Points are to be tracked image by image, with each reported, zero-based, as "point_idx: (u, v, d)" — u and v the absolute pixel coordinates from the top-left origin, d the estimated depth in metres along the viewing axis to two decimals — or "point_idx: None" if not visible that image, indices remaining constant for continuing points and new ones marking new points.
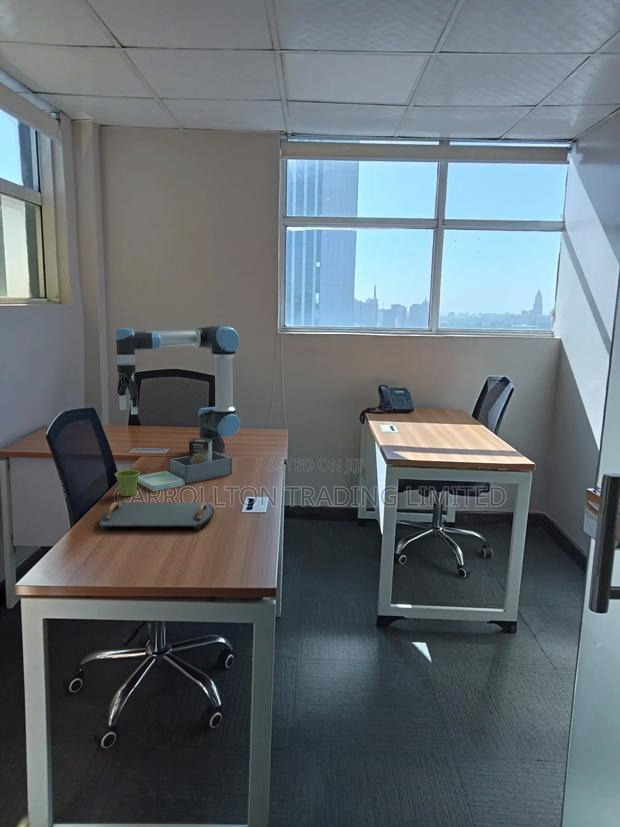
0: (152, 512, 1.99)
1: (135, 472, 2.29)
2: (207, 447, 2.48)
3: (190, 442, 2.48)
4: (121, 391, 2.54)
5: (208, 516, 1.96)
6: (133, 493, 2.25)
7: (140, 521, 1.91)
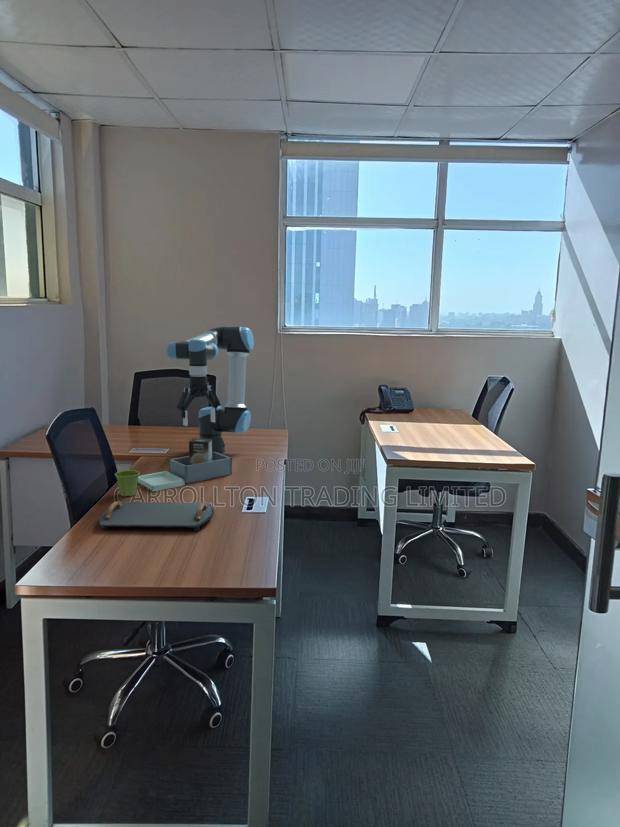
0: (152, 512, 1.99)
1: (135, 472, 2.29)
2: (207, 447, 2.48)
3: (190, 442, 2.48)
4: None
5: (207, 517, 1.96)
6: (133, 493, 2.25)
7: (139, 521, 1.91)
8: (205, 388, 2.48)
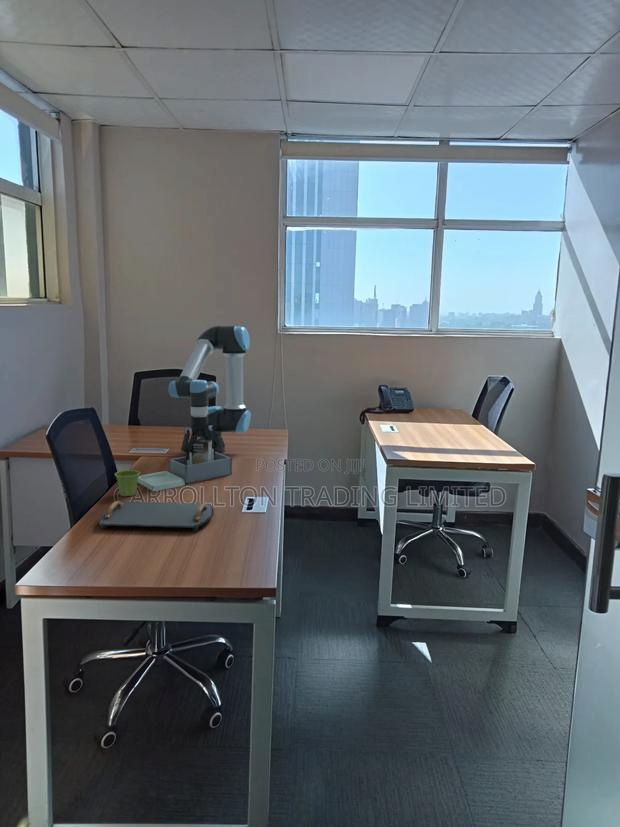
0: (152, 512, 1.99)
1: (135, 472, 2.29)
2: (207, 447, 2.48)
3: None
4: None
5: (207, 517, 1.95)
6: (133, 493, 2.25)
7: (139, 521, 1.91)
8: (206, 427, 2.51)
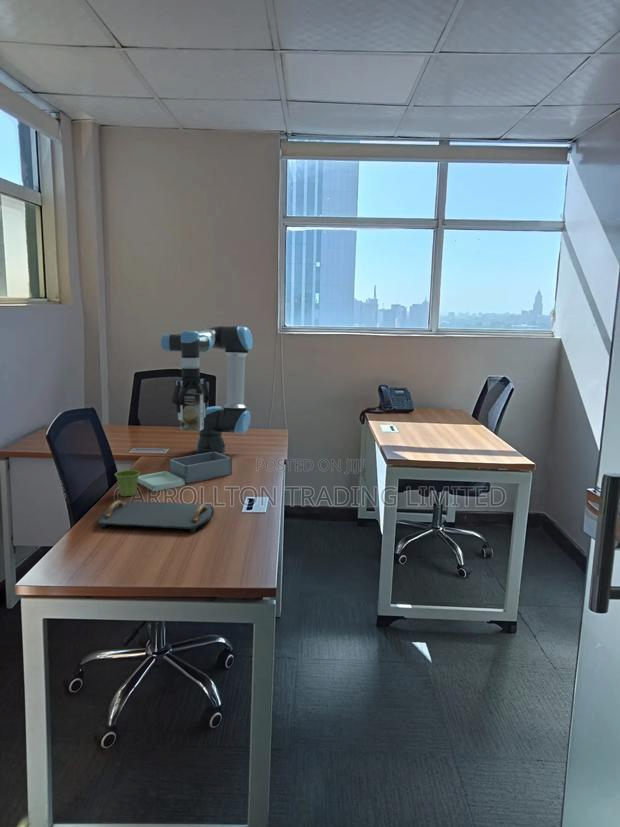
0: (153, 512, 1.99)
1: (135, 472, 2.29)
2: (198, 400, 2.41)
3: None
4: None
5: (205, 518, 1.94)
6: (133, 493, 2.24)
7: (137, 520, 1.91)
8: (197, 380, 2.44)
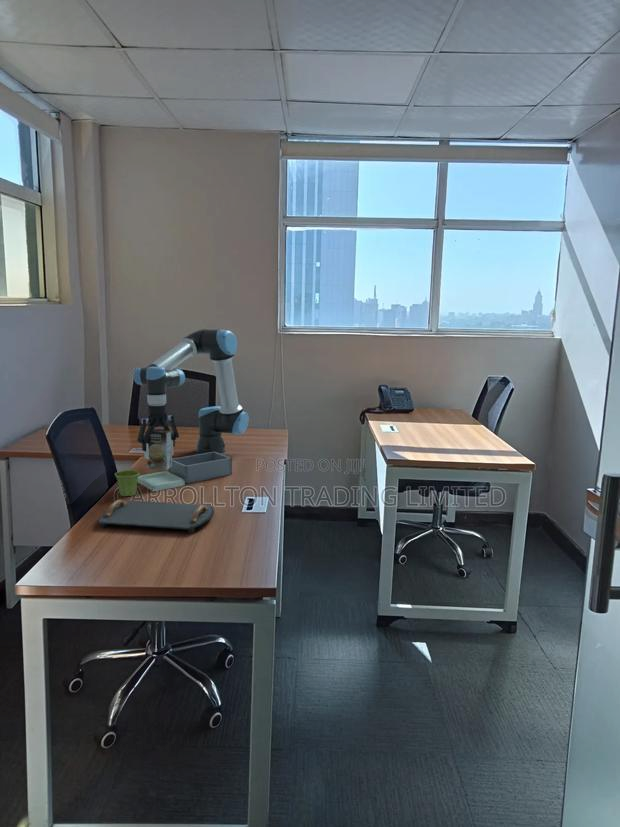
0: (153, 512, 2.00)
1: (135, 472, 2.29)
2: (165, 438, 2.33)
3: None
4: None
5: (204, 519, 1.93)
6: (133, 493, 2.24)
7: (137, 520, 1.92)
8: (165, 417, 2.36)
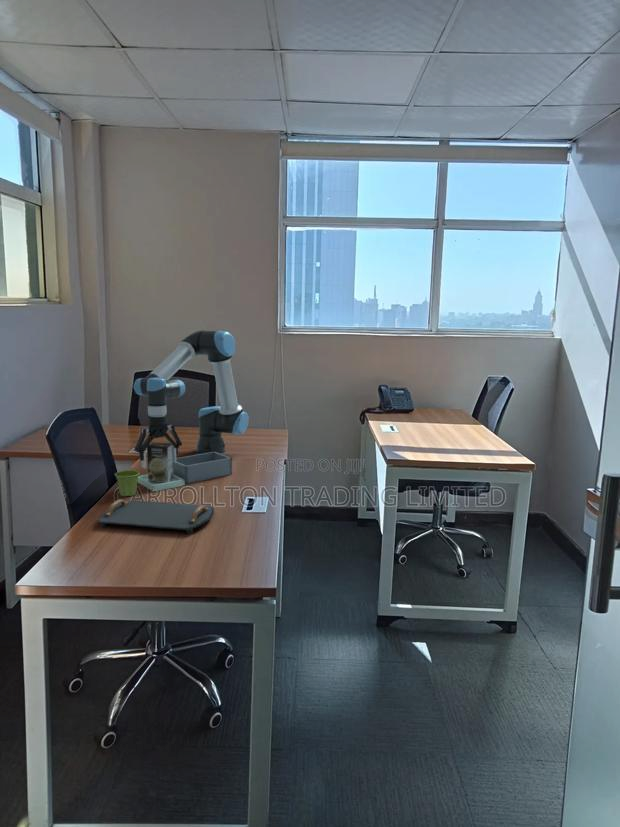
0: (153, 512, 2.00)
1: (135, 472, 2.29)
2: (166, 452, 2.34)
3: (148, 447, 2.35)
4: (170, 442, 2.41)
5: (203, 520, 1.92)
6: (133, 493, 2.24)
7: (136, 520, 1.92)
8: (165, 428, 2.37)
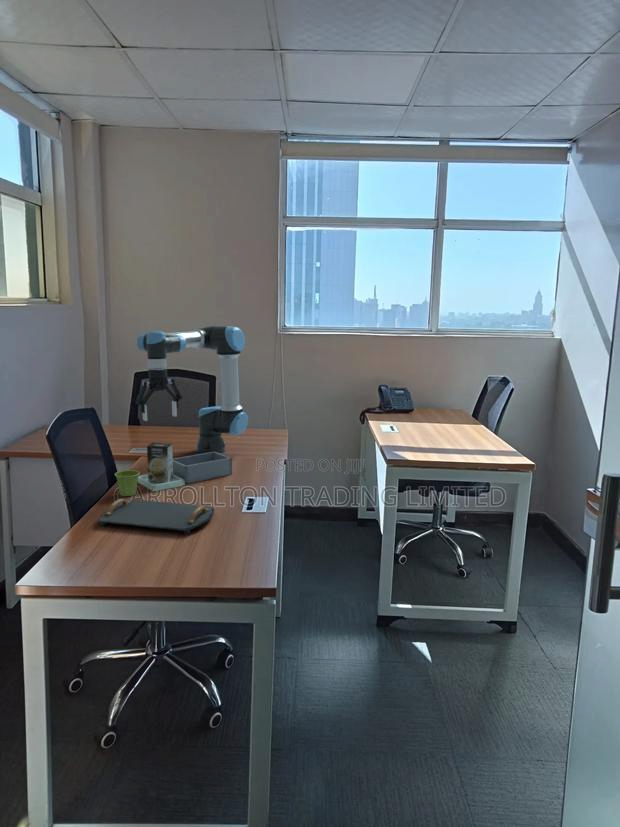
0: (153, 512, 2.00)
1: (135, 472, 2.29)
2: (166, 452, 2.34)
3: (148, 447, 2.35)
4: (170, 396, 2.45)
5: (202, 521, 1.92)
6: (133, 493, 2.24)
7: (135, 520, 1.92)
8: (165, 381, 2.40)
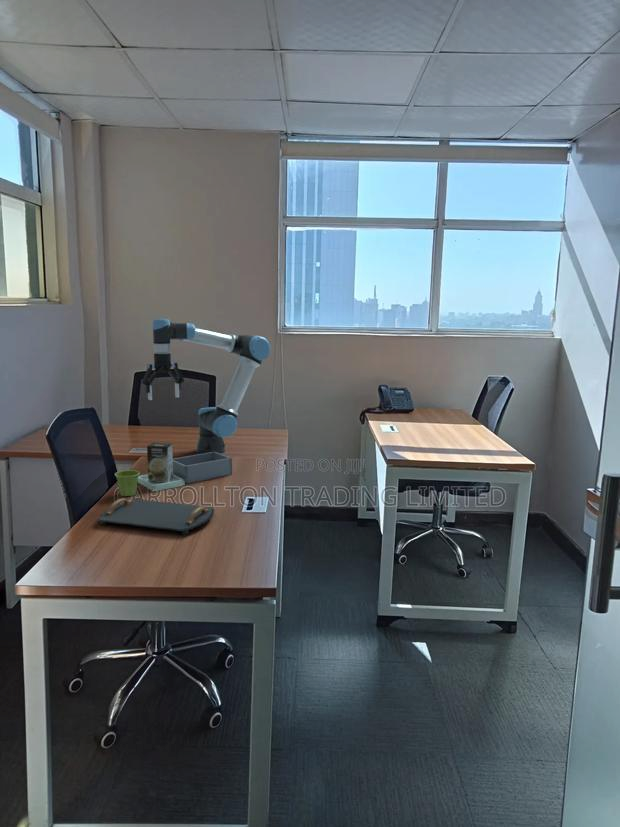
0: (153, 512, 2.00)
1: (135, 472, 2.29)
2: (166, 452, 2.34)
3: (148, 447, 2.35)
4: (174, 379, 2.68)
5: (200, 521, 1.91)
6: (133, 493, 2.24)
7: (135, 519, 1.92)
8: (169, 365, 2.63)
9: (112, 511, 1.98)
